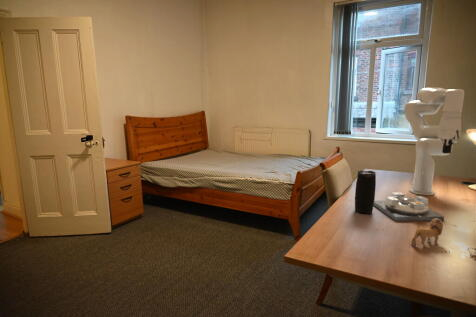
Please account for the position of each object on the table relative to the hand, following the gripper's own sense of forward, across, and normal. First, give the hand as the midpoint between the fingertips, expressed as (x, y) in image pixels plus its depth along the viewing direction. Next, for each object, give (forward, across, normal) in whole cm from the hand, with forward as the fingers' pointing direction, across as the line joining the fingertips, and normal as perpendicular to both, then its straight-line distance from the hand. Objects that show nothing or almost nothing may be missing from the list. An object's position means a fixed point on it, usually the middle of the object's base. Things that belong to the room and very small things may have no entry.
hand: (446, 153), depth 150 cm
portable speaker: (+27, +8, -43) cm, 52 cm away
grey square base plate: (+27, +9, -23) cm, 37 cm away
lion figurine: (+27, +41, -34) cm, 60 cm away
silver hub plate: (+25, +9, -23) cm, 35 cm away
